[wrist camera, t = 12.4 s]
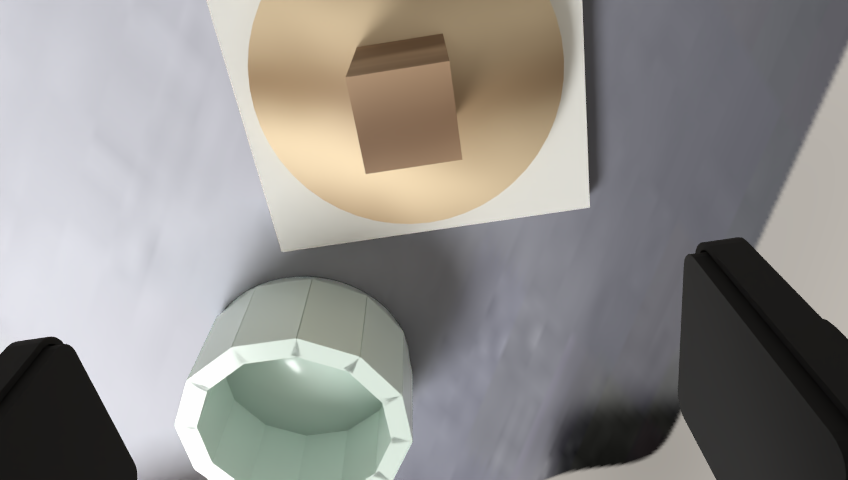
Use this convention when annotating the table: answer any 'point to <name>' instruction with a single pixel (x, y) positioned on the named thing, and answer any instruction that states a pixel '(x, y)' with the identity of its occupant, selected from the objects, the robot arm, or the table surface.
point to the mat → (328, 225)
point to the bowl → (300, 387)
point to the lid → (406, 99)
